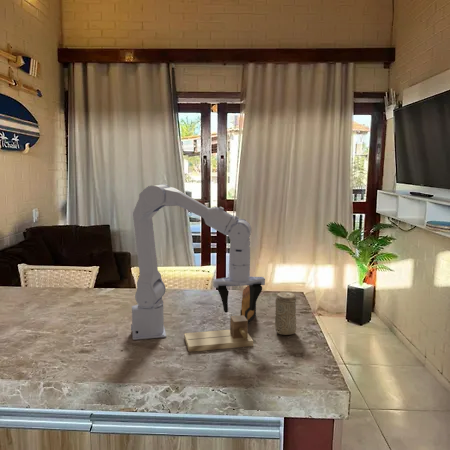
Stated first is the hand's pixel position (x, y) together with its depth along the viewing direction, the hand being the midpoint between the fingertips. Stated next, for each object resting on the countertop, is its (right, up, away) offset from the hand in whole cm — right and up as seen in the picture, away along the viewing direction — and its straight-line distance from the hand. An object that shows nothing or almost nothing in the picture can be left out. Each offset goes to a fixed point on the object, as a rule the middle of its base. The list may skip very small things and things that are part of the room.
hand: (238, 310), depth 120 cm
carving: (+14, -8, +7) cm, 18 cm away
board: (-6, -9, 0) cm, 11 cm away
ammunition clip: (+4, -7, +16) cm, 18 cm away
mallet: (+1, -8, -1) cm, 8 cm away
